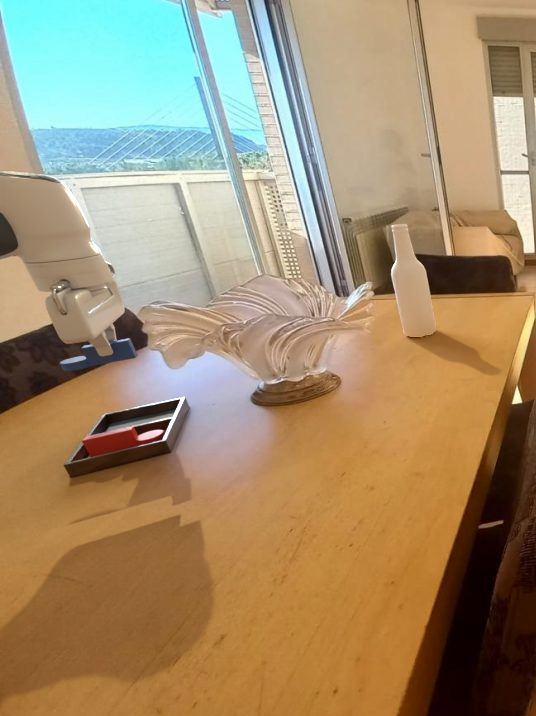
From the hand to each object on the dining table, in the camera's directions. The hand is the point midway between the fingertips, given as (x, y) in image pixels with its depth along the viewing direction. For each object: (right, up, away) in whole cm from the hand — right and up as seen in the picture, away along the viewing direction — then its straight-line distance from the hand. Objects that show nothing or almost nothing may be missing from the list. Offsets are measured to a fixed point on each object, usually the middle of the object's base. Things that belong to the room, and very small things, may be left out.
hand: (110, 351), depth 84 cm
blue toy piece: (-1, -2, 0) cm, 2 cm away
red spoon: (+7, -16, -3) cm, 18 cm away
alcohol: (+34, +6, +51) cm, 61 cm away
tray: (+4, -16, +1) cm, 16 cm away
